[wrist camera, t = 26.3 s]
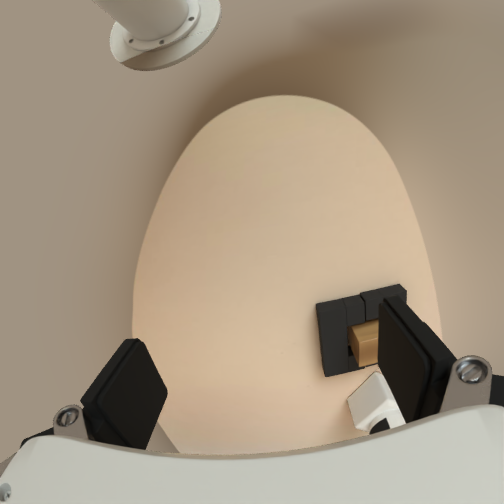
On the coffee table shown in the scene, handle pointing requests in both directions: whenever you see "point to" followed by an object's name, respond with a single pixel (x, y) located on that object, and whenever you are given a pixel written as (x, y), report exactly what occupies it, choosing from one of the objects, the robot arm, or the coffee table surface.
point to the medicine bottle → (374, 406)
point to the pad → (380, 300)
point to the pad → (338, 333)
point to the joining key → (364, 342)
